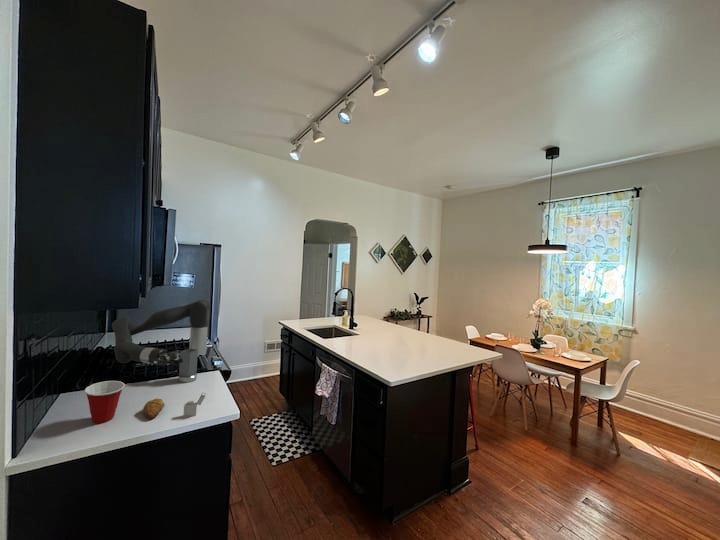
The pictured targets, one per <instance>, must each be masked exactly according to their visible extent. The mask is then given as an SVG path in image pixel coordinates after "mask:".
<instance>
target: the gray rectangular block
mask: <svg viewBox="0 0 720 540" xmlns="http://www.w3.org/2000/svg"><path fill="white" fill-rule="evenodd" d="M198 357H199V356H198V350H197V349H189V348H186V349H184V350H180V359H179V369H178V371H179V373H178V377H179V376H180V377H188V378H189V377H191V376H193V375H195V374H197V372H198V371H197V370H198V369H197V368H198ZM197 375H198V374H197Z"/></svg>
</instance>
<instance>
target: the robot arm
mask: <svg viewBox="0 0 720 540" xmlns="http://www.w3.org/2000/svg"><path fill="white" fill-rule="evenodd" d="M210 309H211V303H210V301H208V300H205V299H199V300H197V301H195V302H192V303H189V304H185V305H183V306H175V307H170V308H165V309H162V310H159V311H155V312H154V313H152V314H151V315H150V316H149V317H148V318H147V319H146V320H145V321H144V322H143V323H142V324H139V325H136V326H135V324H134V323H133V321H132V319H131V318H129V317H128V316H123V317H120V318H116V320H114V321H112V323H111V329H112V330H113V332H114V339H115V342H114V343H115V345H114V347H113V350H114V354H115V360H116V361H117V362H118V363H120V364H126V363H129V362H130V361H135V362H140V363H145V364H150V365H154V366H155V365H156V366H160V367H161V366H162V367H165V366H166V365H167V366H169V365H172V366H178V365H179V360H180V351H181V350H180V351H179V350H173V352H172V351H171V352H169V351H168V350H167V349H165V348H157V347H148V346H147V347H146V346H141V345H139V344H137V343H134V342H133V338H132V336H135V335H138V334H141V333H143V332H145V331H146V332H147V331H149V330H153V329H157V328H161V327H164V326H167V325H172V324H174V323H178V321H181V320H184V319H186V318H189V323H190V333H189V349H197V350H198V357H200V356H199V355H202V356H201V357H204V356H205V355H207V347H208V346H207V345H208V343H207V342H208V327H209V322H208V312H209V311H210Z"/></svg>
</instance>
